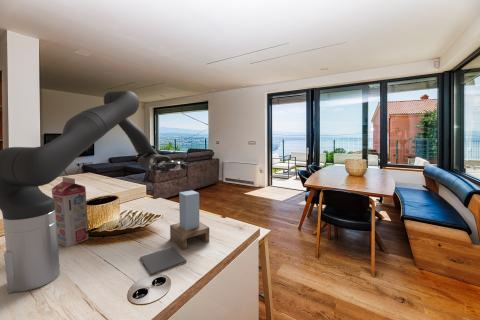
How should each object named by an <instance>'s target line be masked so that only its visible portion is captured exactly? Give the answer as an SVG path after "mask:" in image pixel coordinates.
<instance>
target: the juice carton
mask: <svg viewBox="0 0 480 320" xmlns="http://www.w3.org/2000/svg"><path fill="white" fill-rule="evenodd" d="M86 191H87V190H86V186H84V185H82V184H78V183H76V179H75V178H72V177H65V176H62V181H61V182H60V183H58V184H56V185H54V186H53V187H52V188H51V195H52V197H51V198H53V199H54V202H55V213H56V226H57V239H58V245H60V246H63V247H66V248H69V247H71V246H74V245H76V244H79V243H82V242H84V241H86V240H89V233H88V234H86V233H85V231H88V221H87V213H88V209H87V207H88V206H87V192H86ZM88 232H89V231H88Z"/></svg>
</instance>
